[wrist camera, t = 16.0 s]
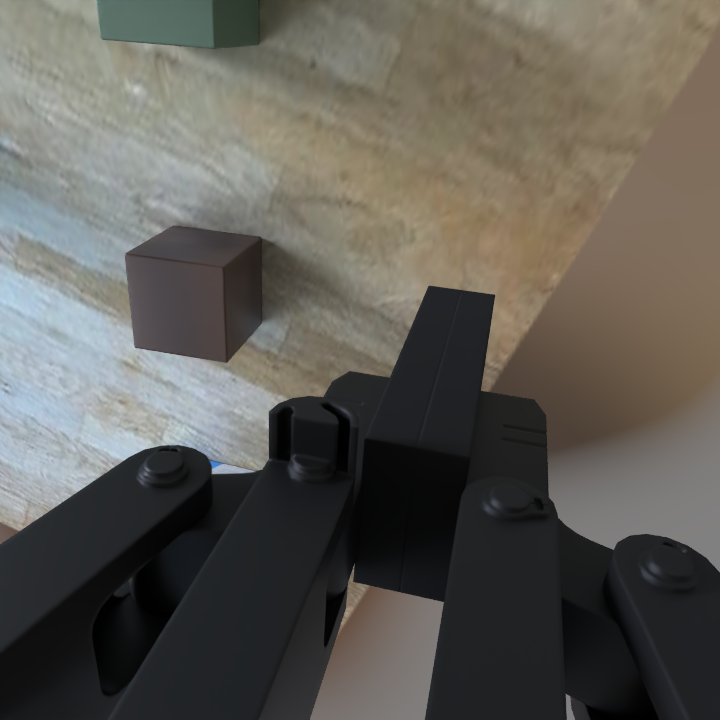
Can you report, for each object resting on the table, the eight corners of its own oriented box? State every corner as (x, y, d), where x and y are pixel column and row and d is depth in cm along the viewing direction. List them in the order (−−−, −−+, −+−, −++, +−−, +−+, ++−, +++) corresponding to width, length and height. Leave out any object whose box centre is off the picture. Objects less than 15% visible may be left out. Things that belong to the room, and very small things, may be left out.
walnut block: (261, 236, 35) (223, 267, 30) (262, 323, 37) (227, 363, 33) (172, 225, 36) (123, 253, 31) (179, 310, 38) (133, 348, 34)
